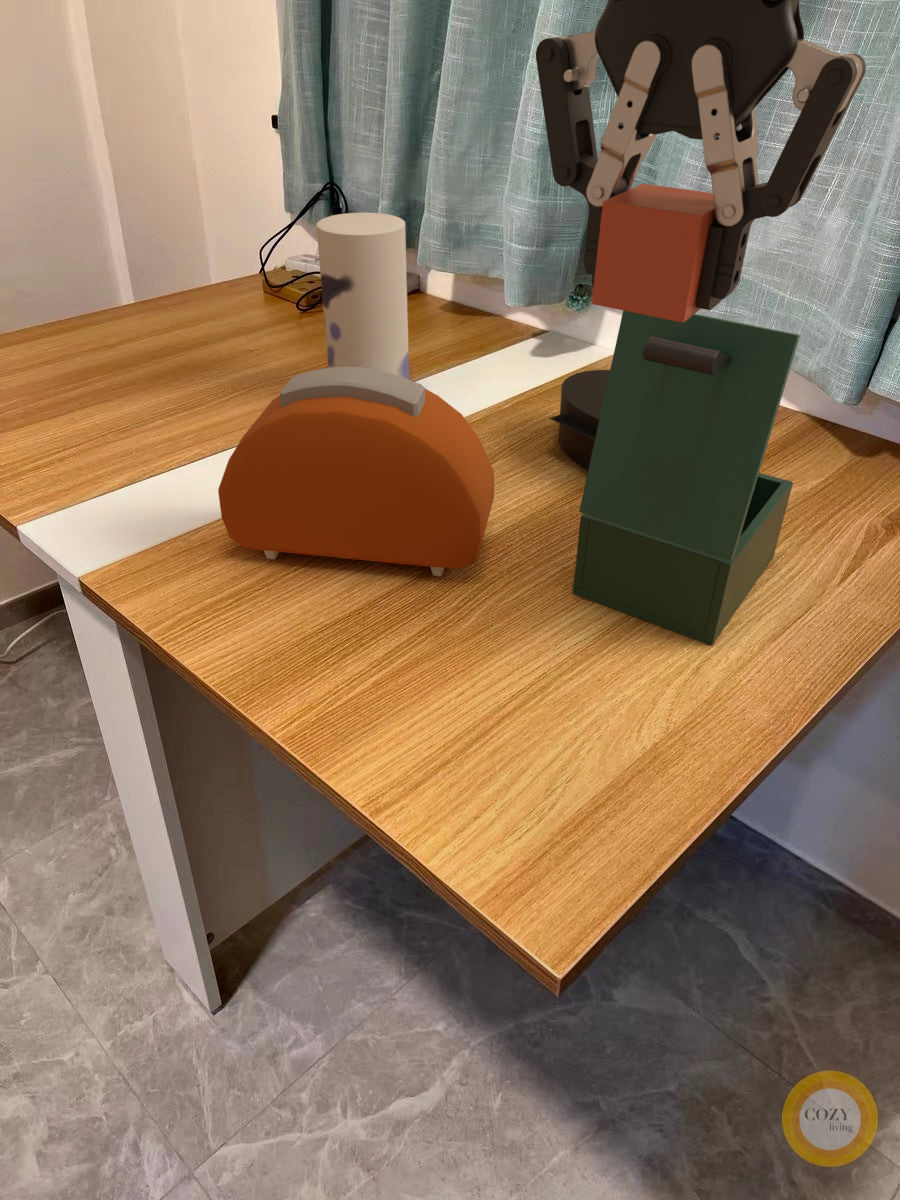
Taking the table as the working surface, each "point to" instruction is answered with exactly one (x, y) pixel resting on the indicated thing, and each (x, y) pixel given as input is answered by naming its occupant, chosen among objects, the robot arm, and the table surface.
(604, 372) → the waffle maker
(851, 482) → the table surface
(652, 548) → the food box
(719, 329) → the lid
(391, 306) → the container
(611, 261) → the block
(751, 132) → the robot arm
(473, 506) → the orange toaster
